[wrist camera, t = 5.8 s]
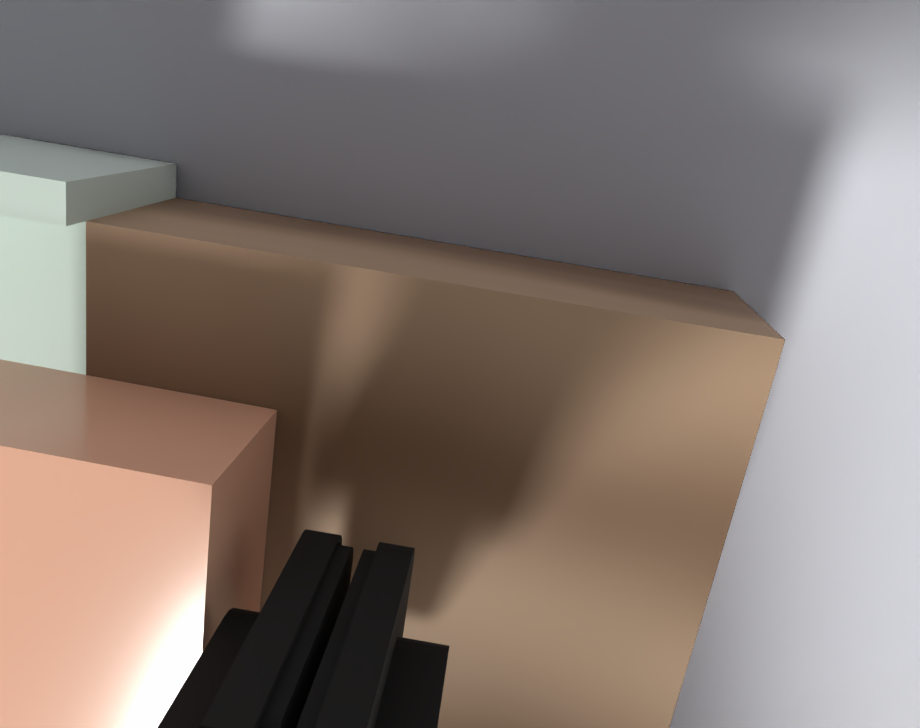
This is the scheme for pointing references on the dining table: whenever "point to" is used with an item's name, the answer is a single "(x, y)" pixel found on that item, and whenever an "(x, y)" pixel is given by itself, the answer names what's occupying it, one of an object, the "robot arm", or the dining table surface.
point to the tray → (59, 240)
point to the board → (465, 434)
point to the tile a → (120, 541)
